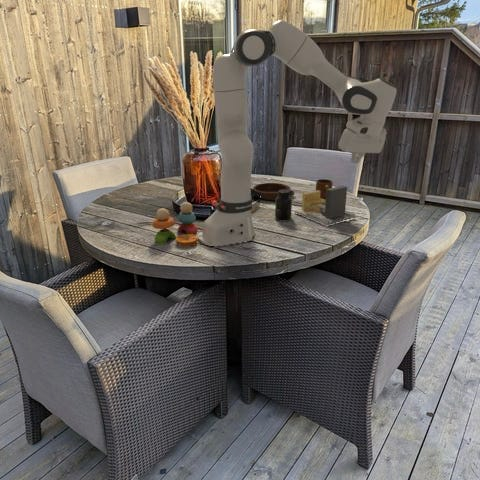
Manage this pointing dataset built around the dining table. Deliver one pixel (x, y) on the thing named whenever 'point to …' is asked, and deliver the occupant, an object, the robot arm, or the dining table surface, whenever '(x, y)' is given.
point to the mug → (323, 187)
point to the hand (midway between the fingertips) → (354, 162)
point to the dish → (271, 190)
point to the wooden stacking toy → (166, 222)
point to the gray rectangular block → (335, 202)
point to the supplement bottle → (283, 205)
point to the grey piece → (319, 209)
